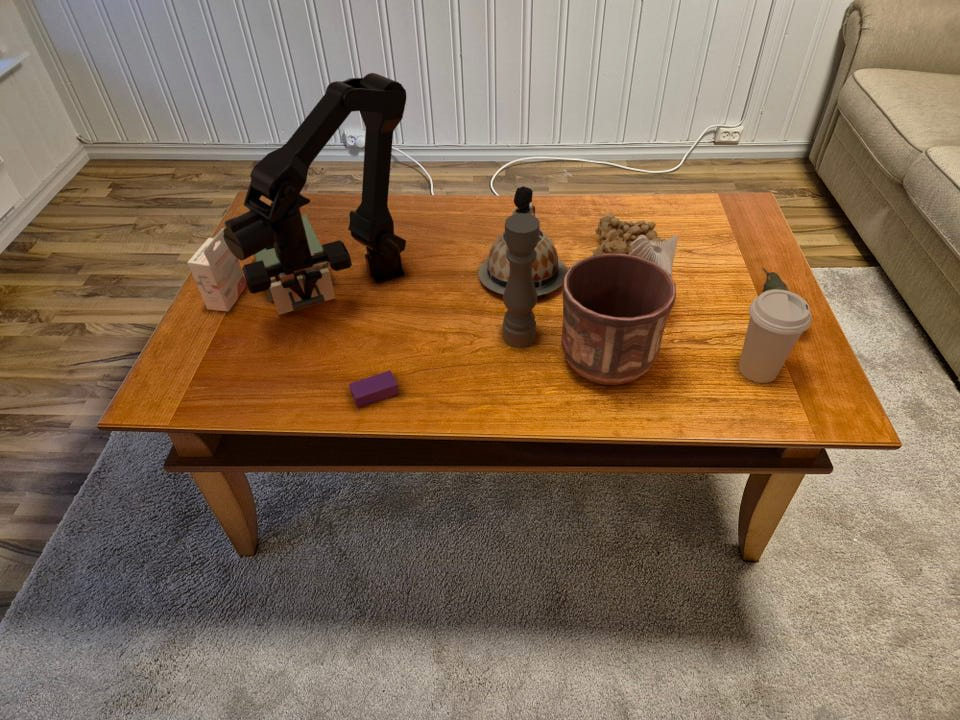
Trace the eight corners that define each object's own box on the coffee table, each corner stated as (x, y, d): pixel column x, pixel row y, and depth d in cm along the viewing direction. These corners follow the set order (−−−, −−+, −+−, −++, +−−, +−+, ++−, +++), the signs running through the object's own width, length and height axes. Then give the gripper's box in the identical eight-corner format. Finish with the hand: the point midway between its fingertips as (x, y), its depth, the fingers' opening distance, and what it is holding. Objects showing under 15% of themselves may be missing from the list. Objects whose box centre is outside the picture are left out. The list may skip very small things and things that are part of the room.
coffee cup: (778, 397, 112) (807, 332, 101) (722, 376, 115) (745, 311, 105) (792, 362, 117) (821, 298, 107) (738, 343, 121) (761, 279, 110)
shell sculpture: (669, 303, 129) (687, 225, 117) (658, 329, 124) (677, 251, 111) (628, 293, 132) (641, 215, 119) (616, 318, 127) (629, 240, 114)
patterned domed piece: (499, 243, 145) (505, 159, 132) (578, 266, 140) (593, 181, 126) (463, 288, 133) (465, 200, 119) (547, 315, 128) (560, 227, 114)
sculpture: (770, 276, 135) (777, 256, 131) (807, 341, 121) (816, 320, 118) (748, 277, 134) (755, 257, 131) (783, 342, 121) (791, 322, 117)
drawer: (342, 312, 128) (336, 285, 123) (284, 330, 125) (275, 302, 120) (318, 261, 140) (311, 234, 135) (264, 276, 137) (255, 249, 132)
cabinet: (331, 285, 136) (323, 250, 130) (270, 302, 132) (259, 267, 126) (313, 247, 145) (305, 214, 139) (256, 262, 142) (245, 229, 135)
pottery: (608, 415, 109) (622, 337, 97) (537, 358, 119) (541, 280, 107) (677, 367, 117) (699, 287, 104) (605, 316, 127) (617, 239, 114)
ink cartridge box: (225, 283, 137) (203, 223, 126) (247, 286, 136) (227, 225, 126) (205, 310, 131) (180, 249, 120) (228, 313, 130) (205, 251, 120)
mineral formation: (595, 234, 146) (664, 236, 143) (591, 278, 139) (664, 282, 136) (596, 206, 140) (669, 208, 137) (592, 251, 132) (669, 254, 129)
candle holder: (539, 329, 125) (545, 215, 107) (530, 351, 121) (535, 236, 103) (508, 322, 126) (509, 209, 109) (498, 343, 122) (498, 230, 105)
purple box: (391, 379, 116) (390, 370, 115) (399, 393, 114) (397, 384, 112) (351, 393, 114) (348, 383, 113) (357, 408, 112) (355, 398, 110)
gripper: (328, 198, 122) (342, 265, 133) (226, 222, 117) (250, 290, 128) (345, 228, 115) (358, 297, 126) (237, 256, 110) (260, 325, 121)
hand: (306, 301), depth 126 cm, fingers closed, pressing on drawer
